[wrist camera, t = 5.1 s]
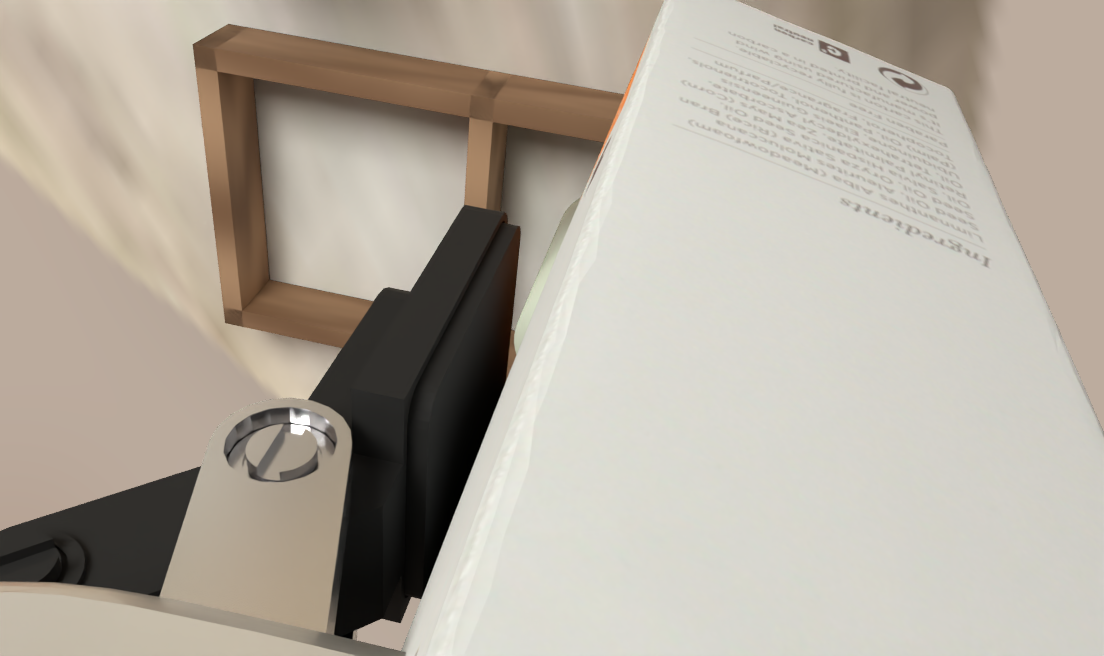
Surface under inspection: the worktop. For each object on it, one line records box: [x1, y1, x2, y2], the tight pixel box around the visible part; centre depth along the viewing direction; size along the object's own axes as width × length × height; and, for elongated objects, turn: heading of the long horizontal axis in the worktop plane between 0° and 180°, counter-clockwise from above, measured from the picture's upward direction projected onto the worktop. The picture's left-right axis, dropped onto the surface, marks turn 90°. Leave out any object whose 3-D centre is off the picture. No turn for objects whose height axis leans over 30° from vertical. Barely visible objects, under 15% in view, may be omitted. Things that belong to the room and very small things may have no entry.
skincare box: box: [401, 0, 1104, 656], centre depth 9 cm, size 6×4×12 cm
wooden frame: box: [193, 24, 624, 380], centre depth 35 cm, size 12×20×2 cm, turn 83°
